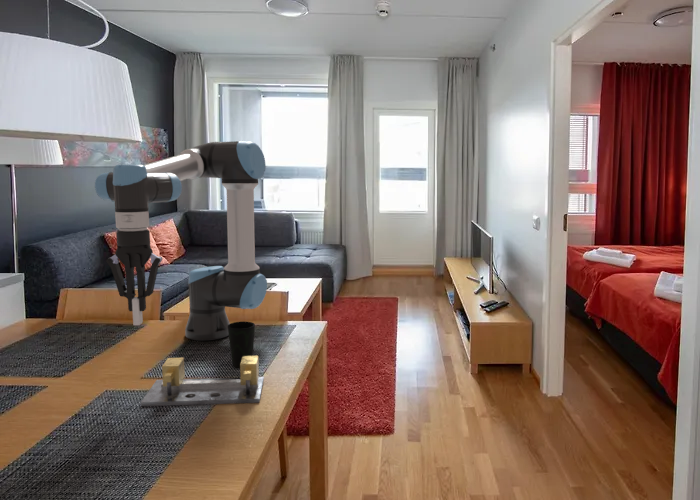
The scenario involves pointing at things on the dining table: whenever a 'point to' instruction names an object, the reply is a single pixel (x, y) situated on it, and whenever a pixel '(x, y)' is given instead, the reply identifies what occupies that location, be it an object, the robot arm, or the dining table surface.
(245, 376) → the trammel bar
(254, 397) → the bolt plate
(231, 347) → the cup
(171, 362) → the block
